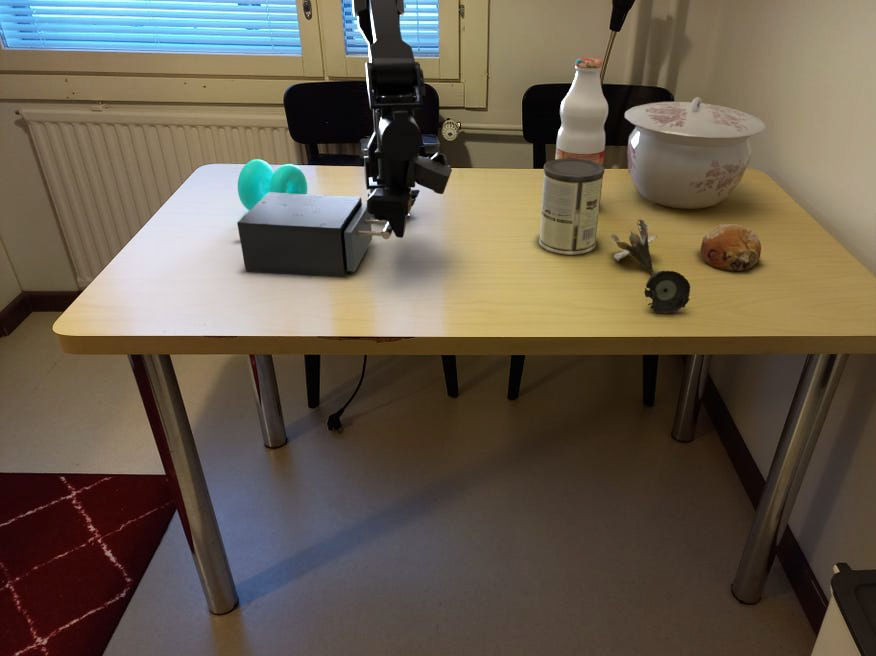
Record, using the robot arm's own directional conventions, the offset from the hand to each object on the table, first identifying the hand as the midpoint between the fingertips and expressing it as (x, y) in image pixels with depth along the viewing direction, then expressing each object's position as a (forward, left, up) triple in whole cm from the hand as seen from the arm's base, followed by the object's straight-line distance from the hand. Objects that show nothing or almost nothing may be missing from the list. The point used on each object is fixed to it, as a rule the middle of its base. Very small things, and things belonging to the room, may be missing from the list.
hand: (400, 236), depth 114 cm
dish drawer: (+9, -7, -4) cm, 12 cm away
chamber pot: (-66, -2, -5) cm, 66 cm away
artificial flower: (-32, +25, -5) cm, 41 cm away
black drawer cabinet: (+13, -9, -4) cm, 17 cm away
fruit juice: (-43, -8, -5) cm, 44 cm away
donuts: (+12, -31, -5) cm, 34 cm away
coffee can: (-30, +7, -5) cm, 31 cm away
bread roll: (-51, +26, -5) cm, 57 cm away
